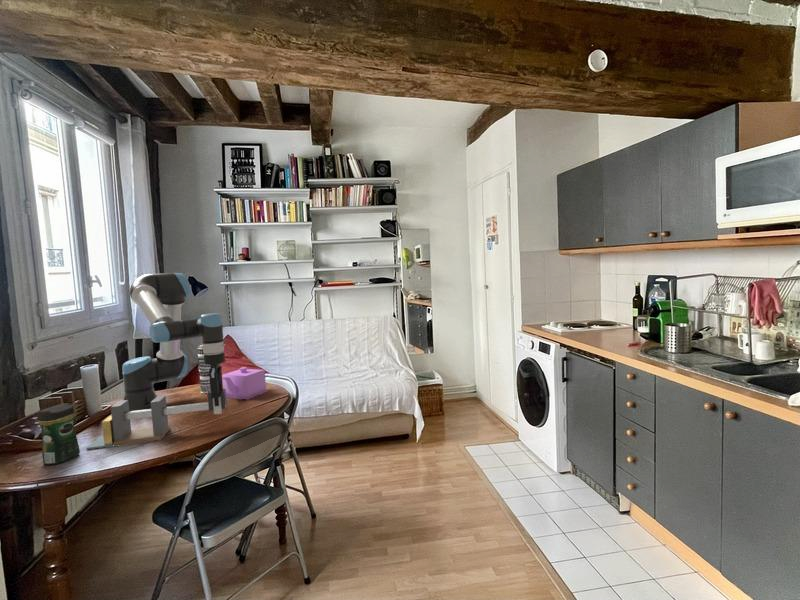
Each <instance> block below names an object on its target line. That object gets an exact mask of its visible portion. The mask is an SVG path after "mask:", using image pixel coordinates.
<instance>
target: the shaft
mask: <svg viewBox="0 0 800 600" xmlns="http://www.w3.org/2000/svg"><path fill="white" fill-rule="evenodd" d="M219 391H220V397H221V408H222V409H224V410H226V408H227V406H228V402H227V398H226V389H219ZM210 397H211V390H210V391H209V392H208V393H207V401H206V402H205V401H204V402H196V403H188V404H181V405H172V406H167V407H163V408H162V411H163V415H167V416H168V415H177V414H183V413H193V412H199V411H200V412H201V411H208V412H211V411H212V412H213V411H214V407H213V398H210ZM144 418H152V413H151V409H145V410H137V411H129V412H124V420H129V419H130V420H135V419H136V420H138V419H144Z"/></svg>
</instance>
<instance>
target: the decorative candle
mask: <svg viewBox="0 0 800 600" xmlns="http://www.w3.org/2000/svg"><path fill="white" fill-rule="evenodd" d="M196 349H197V356H196V359H197V361H196V362H197V366H198V368H197V369H198V371H199V380H198V381H199V388H200V394H201V393H208V392H209V391H210V390H211V385H210V377H209V369H210V368H211V365H206V364H205V363H204V355H205V354H204V353H203V343H202V344H200V345H198V346H197V348H196Z"/></svg>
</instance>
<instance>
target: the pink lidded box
mask: <svg viewBox="0 0 800 600" xmlns="http://www.w3.org/2000/svg"><path fill="white" fill-rule="evenodd" d="M265 370H266V369H255V368H254V369H253V368H248V366H247V367H246V366H243V367H240V368H239V369H237V370H233V371H230V372H228V373H227V372H226V373H223V374H222V384H223V389H226V397H227V398H226V399H231V398H238V399H237V400H242V399H249V400H251V399H250V398H252V399H254V398H256V397H258V396H257V395H259V396H261V395H263V393H264V394H265V392H266V393H267V383H266V382H267V381H266V371H265ZM260 394H261V395H260ZM255 396H256V397H255ZM253 397H254V398H253Z"/></svg>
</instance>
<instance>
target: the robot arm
mask: <svg viewBox="0 0 800 600" xmlns="http://www.w3.org/2000/svg"><path fill="white" fill-rule="evenodd" d="M190 285H191V284H190V282H189V279H188V278H187V276H186V275H185V274H184V273H181V272H164V273H147V274H142V275H141V276H139V277H137V278H136V279H135V280H133V282H132V283H131V285H130V287H129V296H130V298H131V300H132V301H133V303H134V304H136V305H138V306H139V308H140V309H141V312H143V314H144V316H145V317H146V319H147V321H148V322H149V323H150V326H149V335H150V340H151V341H152V342H153V343H159V350H158V351H157V352H156V355H155V356H156V358H152V357H151V356H149V355H148V356H140V357H136V358H133V359H129V360H127V361H125V362H124V363H123V364H122V367H121V368H122V372H121V373H122V379H123V388H124V389H123V390H124V391H123V392H124V396H123V399H122V400H128V403H129V411H137V410H145V409H151V401H153V400H154V399H155V398H156V397H157V393H156V391H155V388H154V384H156V383H160V382H161V383H162V382H165V381H171V380H176V379H179V378H180V379H181V378H183V377H184V376H185V375H186V374H187V371H188V368H189V367H188V366H189V364H188V356H187V355H186V354H185V353H184V352H183V350H182V349H181V340H186V339H195V338H201V340H202V344H203V353H204V354H205V355H204V363H205V364H206V365H211V368H210V369H209V377H210V385H211V397H210V398H213V407H214V410H213V415H219V414H220V415H221V414H223V411H224V410H225V409H222V408H221V397H220V391H219V389H223V379H222V378H223V377H222V375H223V374H222V371H223V370H222V369H223V366H222V365H221V364H224V363H225V362H226V354H225V352H224V351H225V346H226V344H225V343H224V332H223V331H224V330H223V328H224V327H223V318H222V314H221V313H218V312H217V313H215V312H213V313H204V314H201V315H200V317H194V318H187V319H182V305H184V304H185V303H186V299H187V298H189V297H190V296H191V286H190Z"/></svg>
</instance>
